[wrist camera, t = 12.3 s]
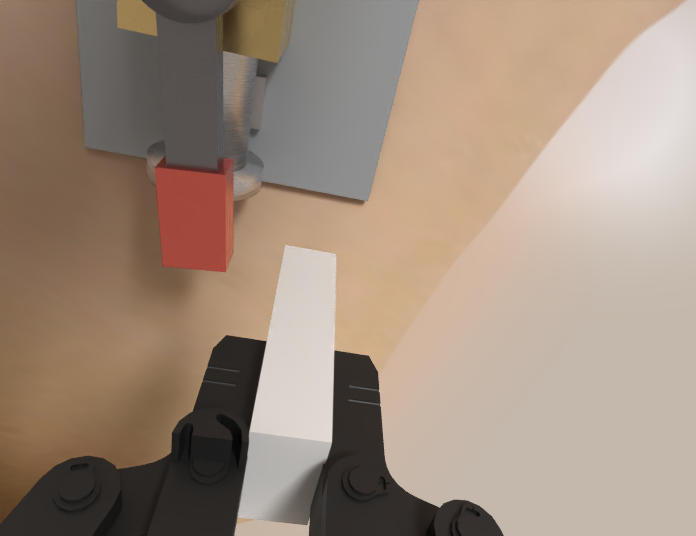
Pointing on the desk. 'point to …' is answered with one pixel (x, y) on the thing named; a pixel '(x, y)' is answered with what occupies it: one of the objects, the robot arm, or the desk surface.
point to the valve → (232, 76)
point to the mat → (280, 96)
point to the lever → (193, 136)
